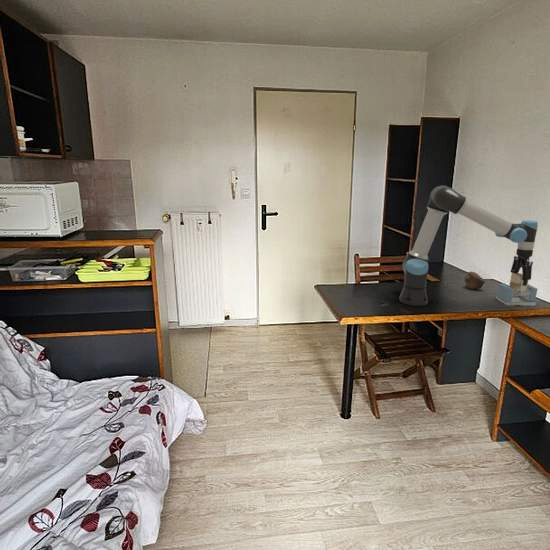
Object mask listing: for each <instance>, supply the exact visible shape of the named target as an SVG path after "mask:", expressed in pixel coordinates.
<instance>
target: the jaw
mask: <svg viewBox="0 0 550 550" xmlns="http://www.w3.org/2000/svg"><path fill="white" fill-rule="evenodd" d="M509 286H510V285H507V284H505V283H499V285H498V291H497V295H496V296H498V297H499V298H501V299H502V300H504V301H505V302H506V301H511V300H512V297H513V296H514V291H515V290H514V289H513V288H511V287H509Z"/></svg>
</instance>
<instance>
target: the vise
mask: <svg viewBox="0 0 550 550" xmlns="http://www.w3.org/2000/svg"><path fill="white" fill-rule="evenodd" d="M537 292H538V288H536V287H534V286H532V285H531V284H529V283H528V285H527V291H520V294H519V295H513V297H512V300H511V301H506V302H505V301H504V300H502V299H501V298H499V297H498V296H497V295H495V296H496V297H495V299H496V300H497V299H498V300H497V301H499V302H500V301H501V302H500V303H501V304H503V303H504V304H503V305H505V304H506V305H505V306H514V305H520V306H521V305H522V307H523V306H525V307H535V306H536V304H537V302H536V298H537V294H538V293H537Z"/></svg>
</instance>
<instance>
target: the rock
mask: <svg viewBox="0 0 550 550" xmlns="http://www.w3.org/2000/svg"><path fill="white" fill-rule="evenodd" d="M464 282H465V284H466V285H465V287H466V289H470V290H479V289H482V287H483V286H484V284H485V282H486V281H485V280H484V278H482V276H481V275H479V274H478V273H476V272H474V271H468V272H467V275H466V276H465V279H464Z"/></svg>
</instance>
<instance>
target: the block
mask: <svg viewBox="0 0 550 550" xmlns="http://www.w3.org/2000/svg"><path fill="white" fill-rule="evenodd" d="M522 279H523V273H522V272H521V273H520V272H518V273H511V275H510V281H509V285H508V286H509V287H511V288H513V290H514V291H517V292H521V291H520V286H521V281H522ZM528 284H529V280H528V281H527V285H528ZM527 285H526V291H527Z"/></svg>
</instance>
